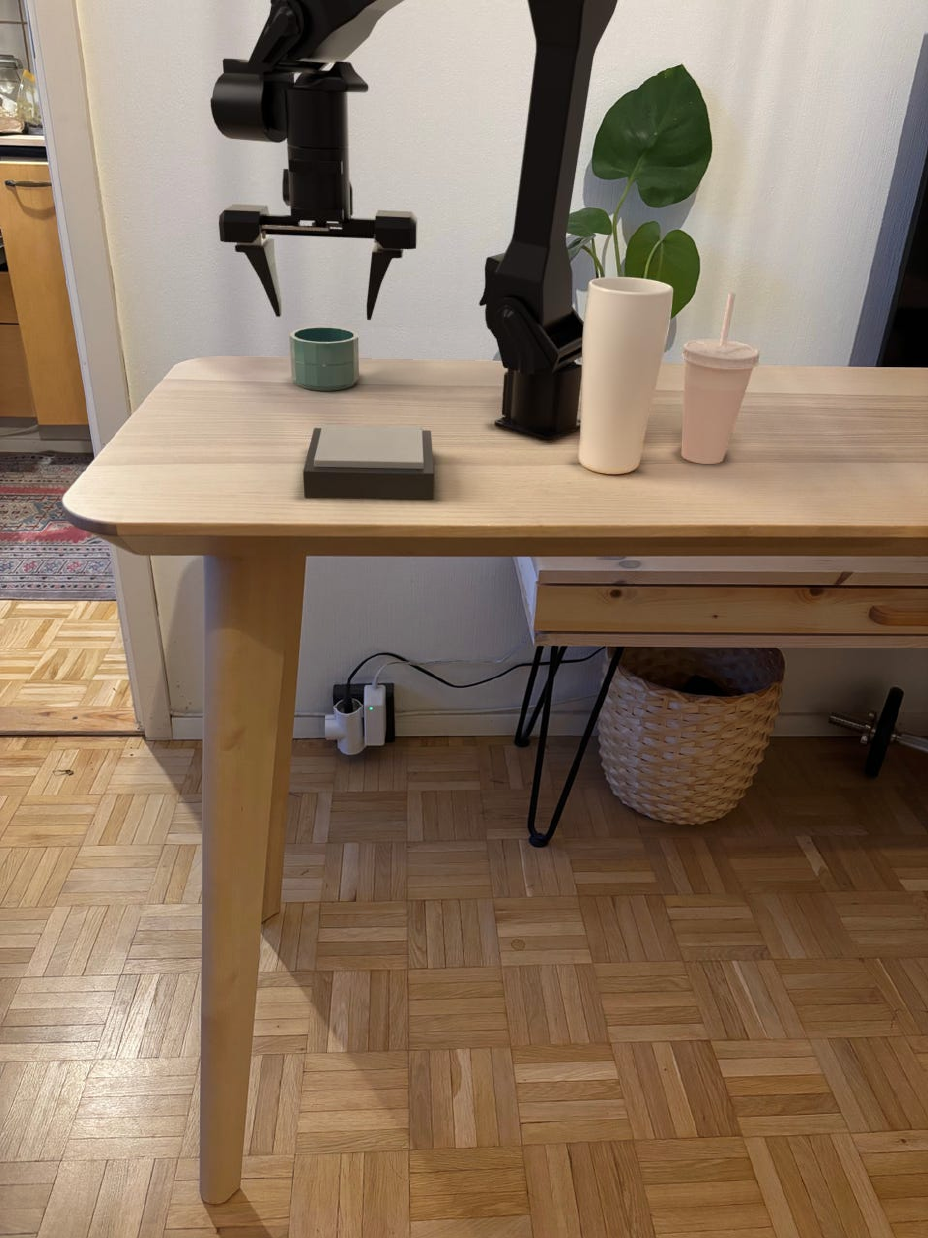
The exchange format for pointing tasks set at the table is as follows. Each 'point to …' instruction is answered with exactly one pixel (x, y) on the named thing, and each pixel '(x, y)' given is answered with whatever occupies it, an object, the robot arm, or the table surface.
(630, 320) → the white tumbler
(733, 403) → the smoothie
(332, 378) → the bowl
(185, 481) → the table surface
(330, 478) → the scale
